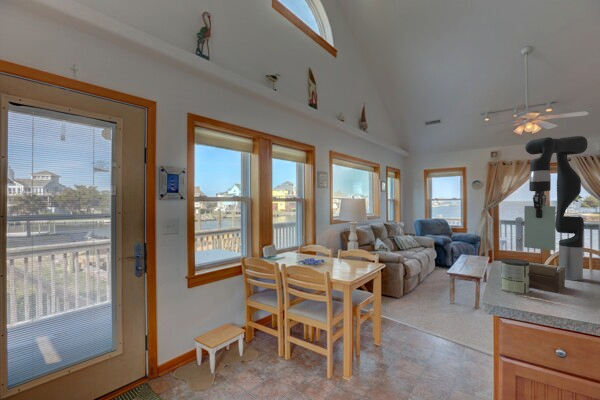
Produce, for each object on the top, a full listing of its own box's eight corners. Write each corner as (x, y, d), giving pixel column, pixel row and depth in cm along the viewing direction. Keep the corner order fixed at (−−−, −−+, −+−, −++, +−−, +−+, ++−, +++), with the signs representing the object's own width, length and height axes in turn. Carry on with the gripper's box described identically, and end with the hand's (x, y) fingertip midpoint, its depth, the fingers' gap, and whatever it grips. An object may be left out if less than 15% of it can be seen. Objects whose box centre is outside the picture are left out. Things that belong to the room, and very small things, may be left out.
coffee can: (498, 286, 133) (498, 257, 133) (525, 289, 129) (525, 259, 129) (503, 293, 124) (504, 262, 124) (532, 296, 120) (533, 264, 120)
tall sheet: (524, 247, 134) (525, 205, 134) (555, 250, 126) (555, 206, 126) (524, 247, 134) (524, 205, 134) (554, 250, 125) (555, 206, 125)
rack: (524, 281, 142) (524, 262, 142) (564, 289, 130) (564, 267, 130) (516, 286, 133) (516, 266, 133) (558, 295, 122) (558, 272, 121)
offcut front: (525, 283, 136) (525, 262, 136) (555, 289, 127) (555, 267, 127) (524, 283, 135) (525, 263, 135) (555, 289, 126) (555, 267, 126)
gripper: (533, 182, 137) (532, 217, 137) (525, 180, 129) (525, 217, 128) (553, 181, 131) (553, 218, 131) (547, 179, 123) (546, 218, 123)
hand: (539, 217), depth 130 cm, fingers closed on tall sheet, 1 cm apart
